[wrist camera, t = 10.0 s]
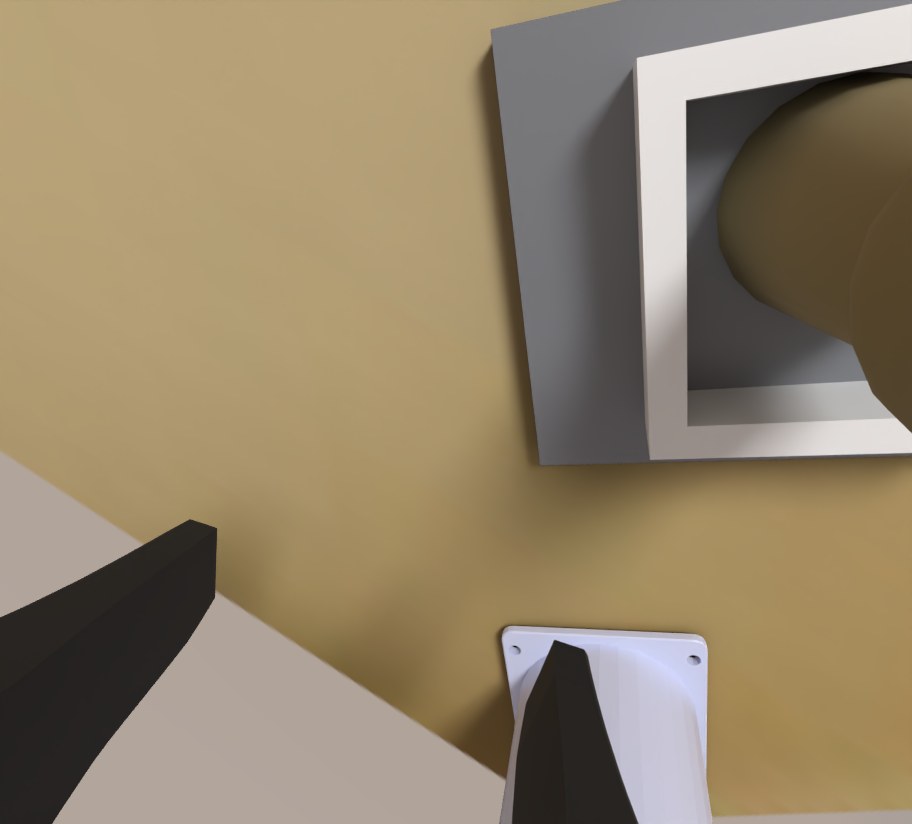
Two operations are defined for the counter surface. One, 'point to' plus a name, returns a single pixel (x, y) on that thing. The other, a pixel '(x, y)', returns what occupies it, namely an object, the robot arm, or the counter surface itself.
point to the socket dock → (673, 229)
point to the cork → (833, 221)
